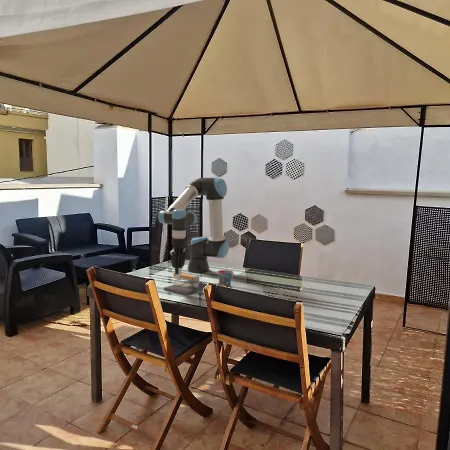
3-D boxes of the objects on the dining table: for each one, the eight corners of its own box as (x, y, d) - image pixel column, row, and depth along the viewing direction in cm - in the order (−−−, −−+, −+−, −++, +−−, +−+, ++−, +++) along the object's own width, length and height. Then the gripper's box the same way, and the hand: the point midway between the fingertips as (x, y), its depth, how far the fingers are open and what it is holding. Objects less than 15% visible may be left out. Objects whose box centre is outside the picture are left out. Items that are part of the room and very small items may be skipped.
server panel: (189, 282, 235) (189, 274, 234) (210, 287, 226) (210, 278, 225) (164, 290, 217) (164, 281, 216) (186, 295, 208) (186, 286, 207)
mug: (224, 293, 215) (224, 274, 213) (213, 289, 221) (213, 271, 220) (239, 289, 223) (239, 271, 222) (228, 286, 230) (228, 268, 228)
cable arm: (177, 276, 227) (177, 271, 227) (200, 281, 218) (200, 276, 218) (173, 277, 224) (173, 272, 224) (196, 282, 215) (196, 277, 215)
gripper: (181, 235, 220) (180, 276, 222) (165, 238, 209) (164, 280, 212) (191, 237, 216) (190, 278, 218) (176, 239, 205) (175, 282, 207)
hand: (178, 279), depth 215 cm, fingers closed
